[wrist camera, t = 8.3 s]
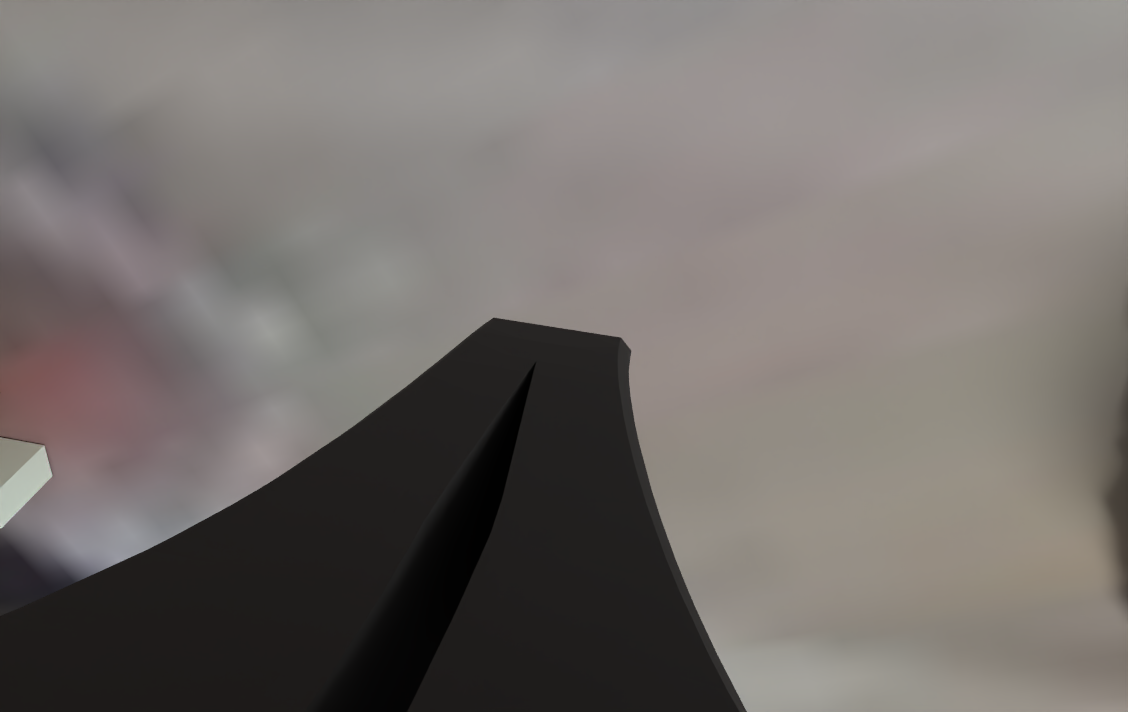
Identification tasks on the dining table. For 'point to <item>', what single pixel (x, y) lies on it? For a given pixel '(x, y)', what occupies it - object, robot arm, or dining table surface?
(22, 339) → the dining table surface
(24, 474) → the mint green slab
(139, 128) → the dining table surface
